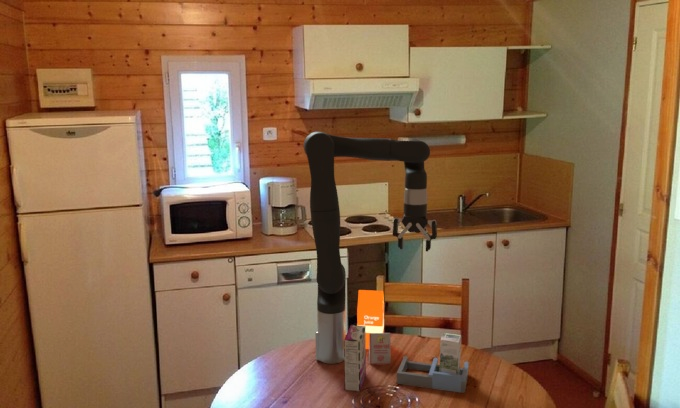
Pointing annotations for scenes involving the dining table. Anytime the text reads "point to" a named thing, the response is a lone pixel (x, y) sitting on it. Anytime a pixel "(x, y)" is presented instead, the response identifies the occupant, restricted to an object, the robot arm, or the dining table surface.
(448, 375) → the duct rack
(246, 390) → the dining table surface
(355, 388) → the candy bar box
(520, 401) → the dining table surface
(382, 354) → the white cardboard box
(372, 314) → the orange juice
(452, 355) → the syrup box
